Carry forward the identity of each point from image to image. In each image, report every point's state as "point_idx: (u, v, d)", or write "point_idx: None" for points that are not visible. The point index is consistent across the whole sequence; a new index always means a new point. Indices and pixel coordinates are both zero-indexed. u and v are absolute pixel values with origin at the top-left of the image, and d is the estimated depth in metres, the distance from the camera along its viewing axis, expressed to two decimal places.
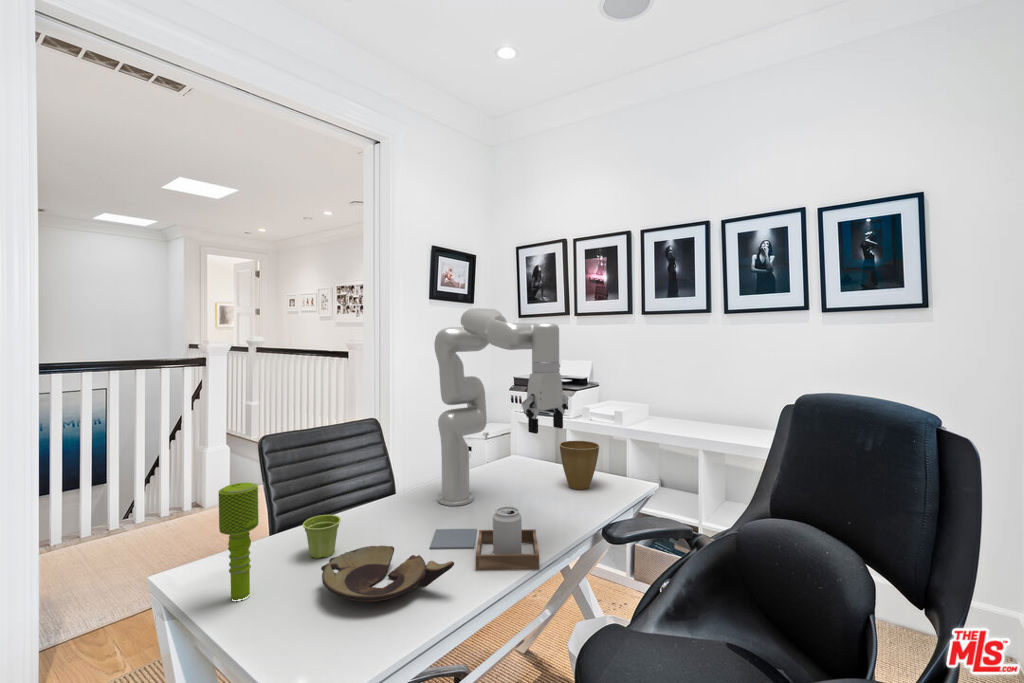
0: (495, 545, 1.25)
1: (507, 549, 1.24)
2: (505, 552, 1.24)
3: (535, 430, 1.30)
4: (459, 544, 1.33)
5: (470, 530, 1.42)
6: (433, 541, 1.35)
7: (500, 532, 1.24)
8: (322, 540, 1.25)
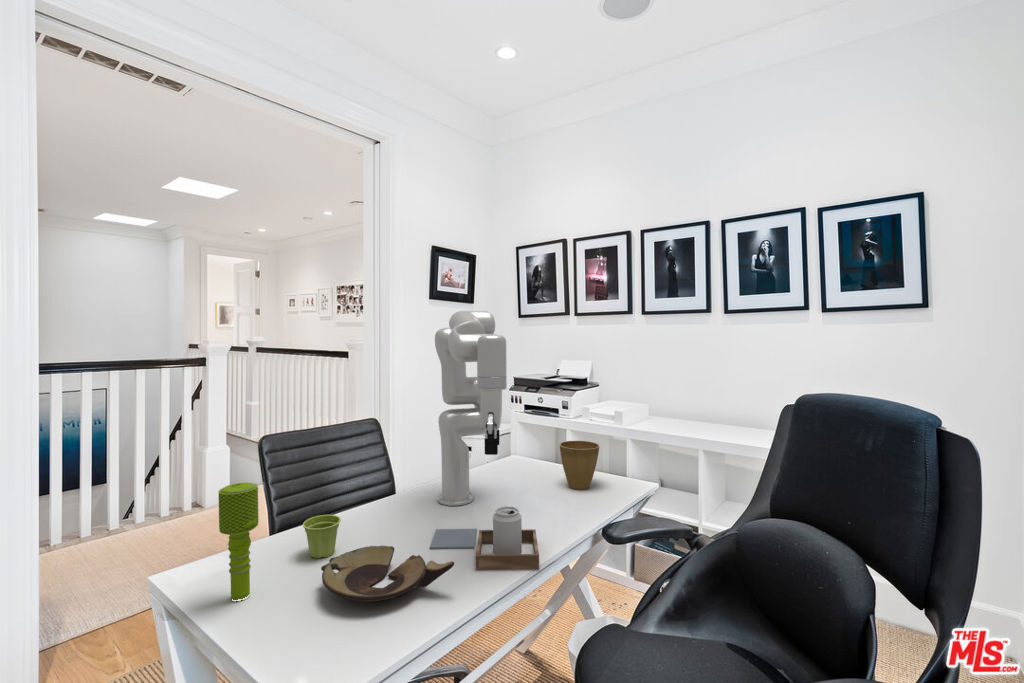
0: (495, 545, 1.25)
1: (507, 549, 1.24)
2: (505, 552, 1.24)
3: (495, 451, 1.20)
4: (459, 544, 1.33)
5: (470, 530, 1.42)
6: (433, 541, 1.35)
7: (500, 532, 1.24)
8: (322, 540, 1.25)
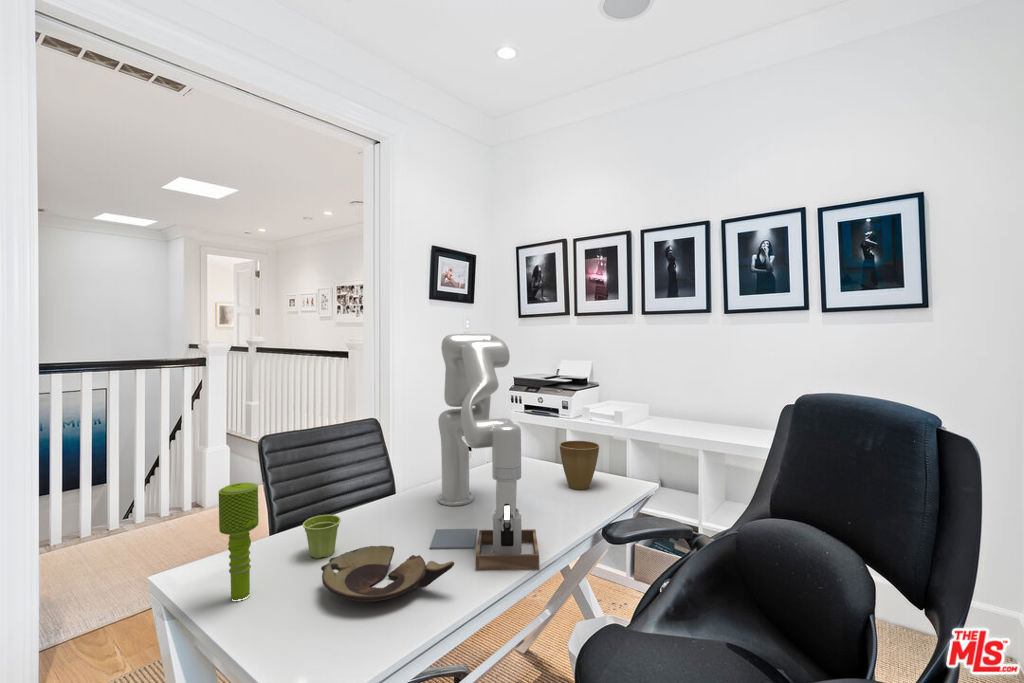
0: (495, 545, 1.25)
1: (507, 549, 1.24)
2: (505, 552, 1.24)
3: (511, 542, 1.23)
4: (459, 544, 1.33)
5: (470, 530, 1.42)
6: (433, 541, 1.35)
7: (500, 532, 1.24)
8: (322, 540, 1.25)
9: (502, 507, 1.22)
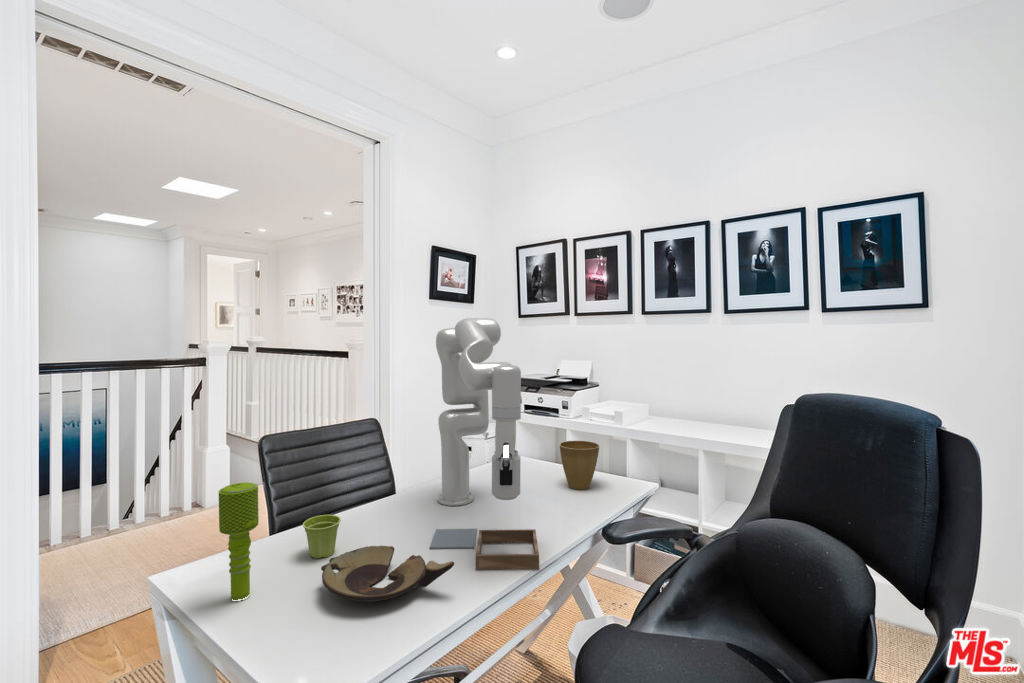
0: (494, 485, 1.25)
1: (506, 488, 1.24)
2: (504, 491, 1.24)
3: (510, 482, 1.23)
4: (459, 544, 1.33)
5: (470, 530, 1.42)
6: (433, 541, 1.35)
7: (499, 472, 1.24)
8: (322, 540, 1.25)
9: (501, 446, 1.22)
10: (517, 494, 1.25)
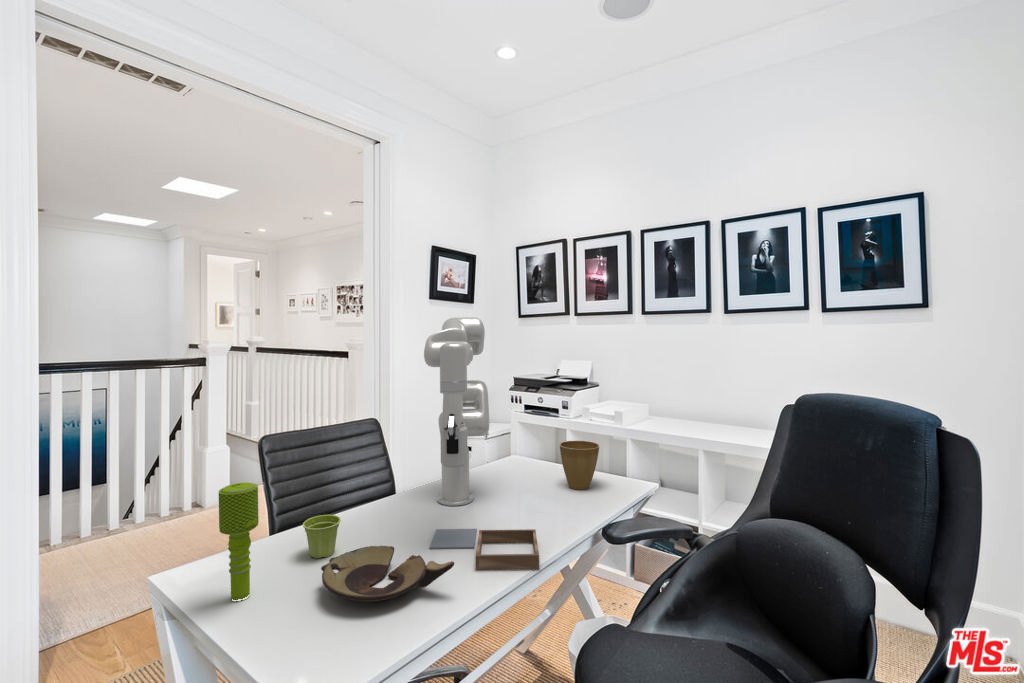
0: (442, 454, 1.35)
1: (453, 457, 1.33)
2: (451, 460, 1.33)
3: (456, 450, 1.32)
4: (459, 544, 1.33)
5: (470, 530, 1.42)
6: (433, 541, 1.35)
7: (446, 441, 1.33)
8: (322, 540, 1.25)
9: (447, 417, 1.31)
10: (463, 462, 1.35)
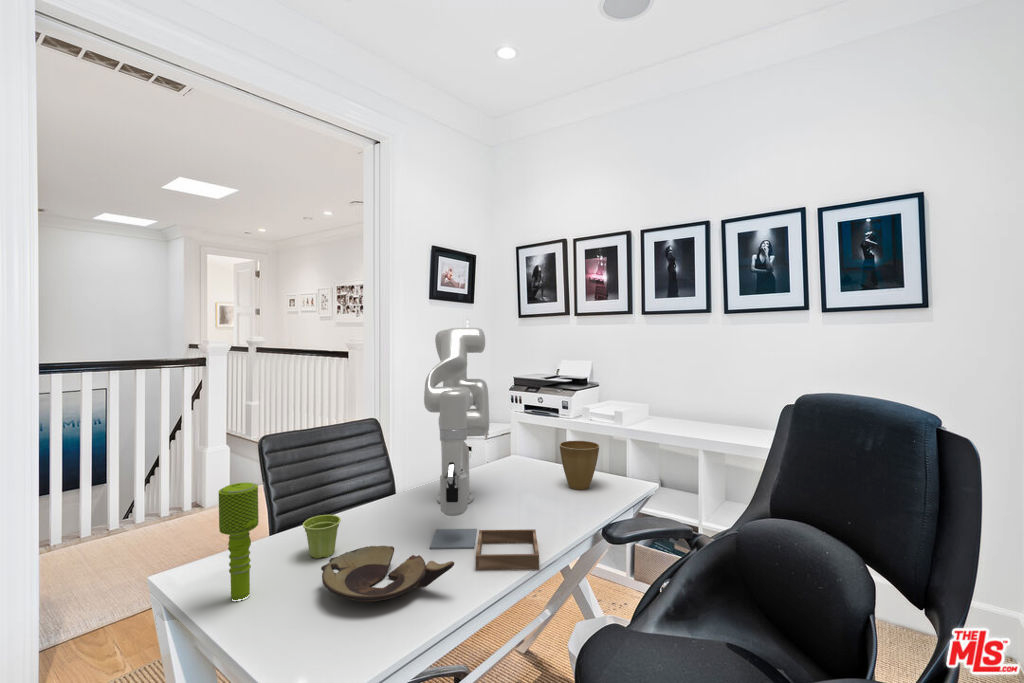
0: (441, 502, 1.35)
1: (452, 505, 1.33)
2: (450, 508, 1.33)
3: (456, 499, 1.32)
4: (459, 544, 1.33)
5: (470, 530, 1.42)
6: (433, 541, 1.35)
7: None
8: (322, 540, 1.25)
9: (447, 465, 1.32)
10: (463, 510, 1.35)
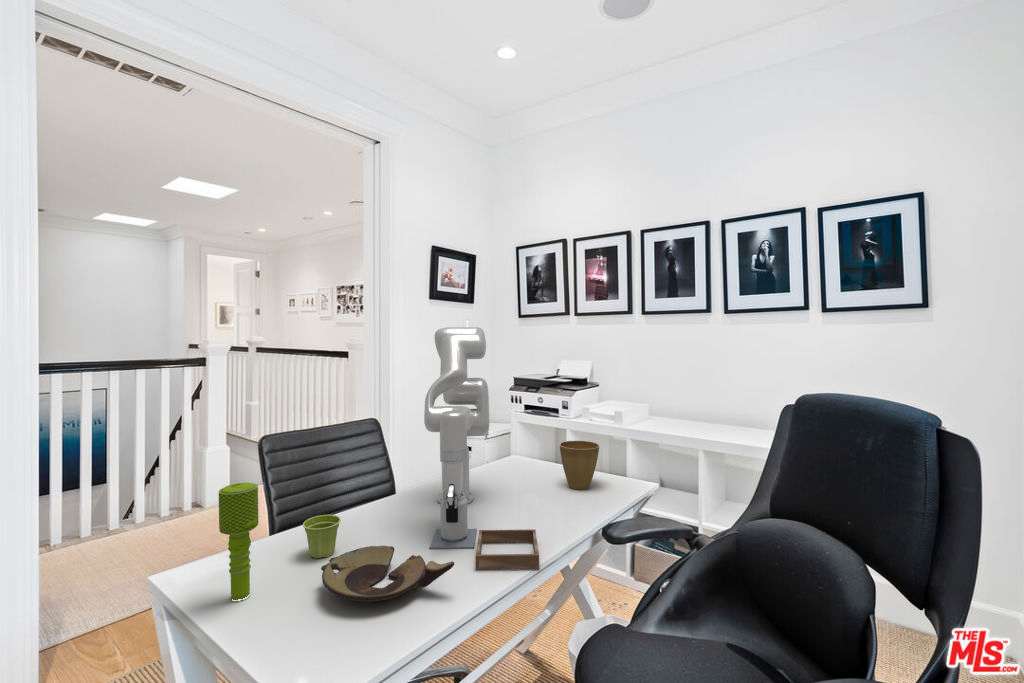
0: (442, 527, 1.35)
1: (453, 531, 1.34)
2: (450, 533, 1.34)
3: (456, 519, 1.32)
4: (459, 544, 1.33)
5: (470, 530, 1.42)
6: (433, 541, 1.35)
7: None
8: (322, 540, 1.25)
9: (447, 487, 1.32)
10: (463, 535, 1.35)
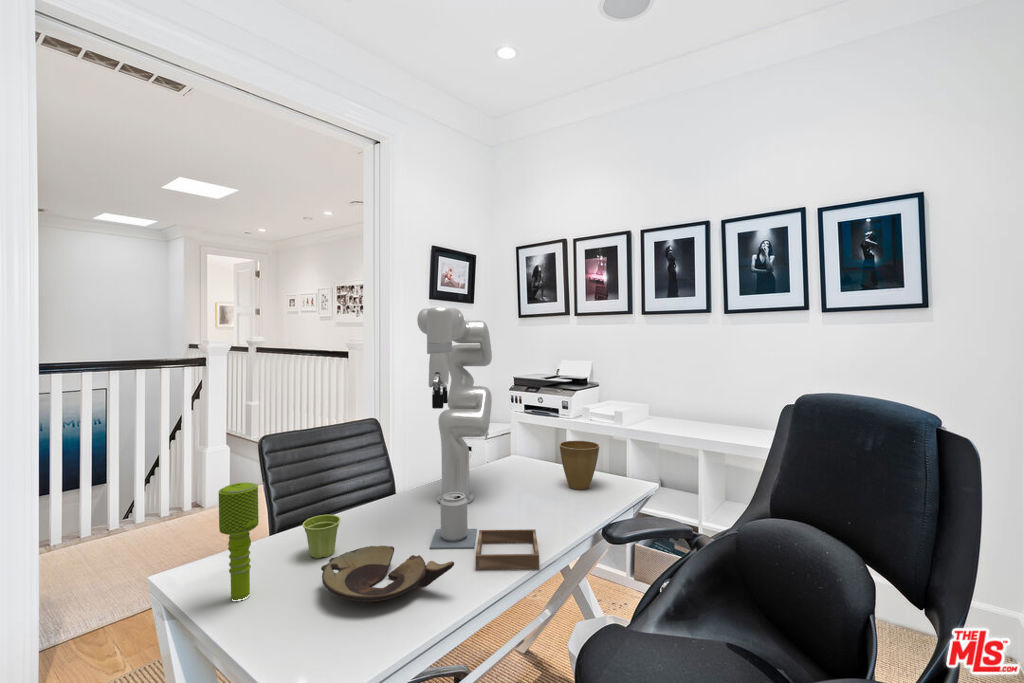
0: (442, 527, 1.35)
1: (453, 531, 1.34)
2: (450, 533, 1.34)
3: (441, 405, 1.41)
4: (459, 544, 1.33)
5: (470, 530, 1.42)
6: (433, 541, 1.35)
7: (446, 515, 1.34)
8: (322, 540, 1.25)
9: (433, 375, 1.41)
10: (463, 535, 1.35)
